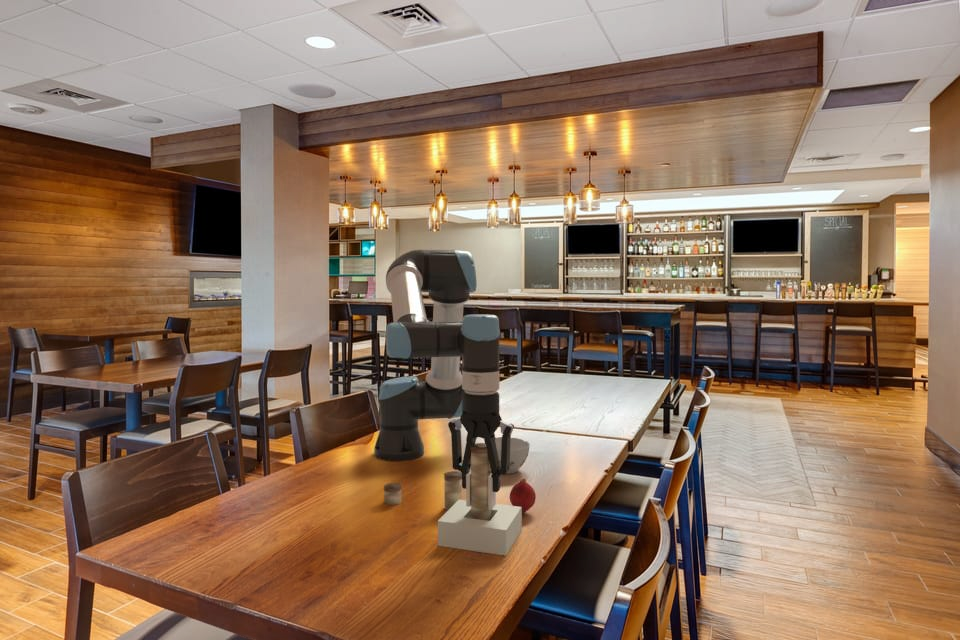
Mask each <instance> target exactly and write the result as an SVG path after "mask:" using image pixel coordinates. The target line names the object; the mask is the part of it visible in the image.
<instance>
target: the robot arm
mask: <svg viewBox="0 0 960 640" xmlns="http://www.w3.org/2000/svg"><path fill="white" fill-rule="evenodd" d="M475 265H476V264H475V261H474V257H473V255H472V253H471V252H470V251H468V250H460V249H459V250H457V249H414V250H409V251H407V252H405V253H403V254H401V255H400V256H398V257H397V258H395V259H394V260H393V261H392V263H391V264H390V265H389V267H388V269H387V271H386V274H385V286H386V288H387V291H388V292H389V293H390V298H391V308H392V309H391V310H392V318H393V319H392V320H393V322H389V323H388V324H387V325H386V328H385V331H386V332H385V338H386V339H385V343H386V344H385V345H386V354H387V356H388V357H389V358H391V359H392V358H393V359H394V358H395V359H396V358H397V359H403V360H404V359H405V360H406V359H419V358H423V359H424V358H431V363H430V367H431V368H430V371H429V372H428V373H427V374H426V376H425V380H424V381H422V380H421V381H419V379H418V377H417V376H412V375H411V376H401V377H395V378H390V379H388V380H385V381H383V382H381V384H380V386H379V395H378V400H379V432H378V436H377V438H376V441H375V445H374V449H373V450H374V451H373V454H374V457H375V458H377V459H379V460H383V461H389V462H399V461H400V462H403V461H410V460H414V459H418V458H420V457H422V456H423V455H424V454H425V445H424V442H423V439H422V436H421V432H420V430H419V420H433V419H434V420H435V419H448V420H450V419H453V420H451V421H449V422H448V424H447V425H448V428H449V431H450V434H451V436H450V437H451V458H452V461H451V462H452V469H453V470H454V471H458V472H461V473H462V490H463V489H465V491H466V492H465V500H466V506H467V507H470V506H471V446H473V445H474V444H475V443H476V441H477V439H478V438H481V439H483V440H484V442H483V443H485V444H486V447H487V452H488V458H489V463H490V468H491V475H490V476H489V477H488V509H493V507H494V506H495V505H496V504H497V503H496V502H497V499H496V496H497V495H496V494H497V493H498V492H499V491H500V489H501V476H504V475H507V474H506V473H507V472H508V471H509V467H510V442H511V438H512V437H511V436H512V433H513V431H514V429H515V425H514V424H513V423H507V422H505V421H503V419H502V416H501V415H500V393H499V392H498V391H499V390H500V335H501V330H500V320H499V317H498V316H497V315H495V314H488V313H487V314H484V313H483V314H476V313H475V314H466V315H464V304H465V303H467V302H468V301H469V300H470V295H471V294H472V293H474V292H476V291H477V287H478V286H477V274H476V273H477V272H476V266H475ZM422 293H428V298H429V300H431V301H432V302H433V309H432V310H433V313H432V314H433V316H432V317H433V318H432V322H430V321H429V322H428V319H427V313H426V308H425V303H424V299H423V298H424V297H423V295H422ZM470 293H471V294H470ZM461 362H462V363H461ZM460 364H462V366H461V365H460ZM460 366H461V372H460ZM454 418H458V419H454ZM462 427H464V429H465V430H466V432H467V433H466V439H465V441H466V443H465V447H464V452H462V451H463V447H462ZM499 427H500V433H501V434H502V436H501V437H502V444H501V467H500V464H499V458H498V453H497V448H496V443H495V438H496V434H495V433H496V431H497V430H498V429H499Z"/></svg>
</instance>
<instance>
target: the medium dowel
mask: <svg viewBox="0 0 960 640" xmlns="http://www.w3.org/2000/svg"><path fill="white" fill-rule="evenodd" d="M443 479H444V481H443V484H444V510H445V511H446V512H447V511H448V510H449V509H450V508H451V507H452V506H453V505H454V504H455V503H456V502H457V501H458V500H459V499H460V500H463V488H462V473H461V472H460V471H458V470H454V471H453V470H451V471H450V470H449V471H447V472H444V474H443Z"/></svg>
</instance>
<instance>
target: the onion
mask: <svg viewBox="0 0 960 640" xmlns="http://www.w3.org/2000/svg"><path fill="white" fill-rule="evenodd" d="M536 496H537V495H536V492H535V489H534V487H532V486H531V485H530V484H529V483H528V482H527V479H526V478H525V477H522V478H521V479H520V480H519V482H517V483H516V484H514V485H513V487H512V488H511V490H510V492H509V501H510V503H511V506H518V507H522V514H525V513H526V512H527V511H529V510H530V509H531V508H532V507H533V506H534V505H535V503H536Z"/></svg>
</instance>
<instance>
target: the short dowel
mask: <svg viewBox="0 0 960 640" xmlns="http://www.w3.org/2000/svg"><path fill="white" fill-rule="evenodd" d="M383 490H384V491H383V500H384V501H383V502H384V504H385V505H386V504H387V506H397V504H398V505H400V504H401V503H402V484H401V483H398V482H390V483H389V482H388V483H385V484H384V485H383Z"/></svg>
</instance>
